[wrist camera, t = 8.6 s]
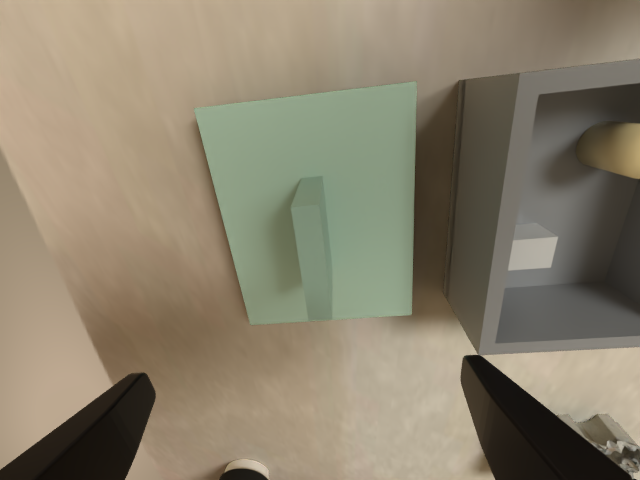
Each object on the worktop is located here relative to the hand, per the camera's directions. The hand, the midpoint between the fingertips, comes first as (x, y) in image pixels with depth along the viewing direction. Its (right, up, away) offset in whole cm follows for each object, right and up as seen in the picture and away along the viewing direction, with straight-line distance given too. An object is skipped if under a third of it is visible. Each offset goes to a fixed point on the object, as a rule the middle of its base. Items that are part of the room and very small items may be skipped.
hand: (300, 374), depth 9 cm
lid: (+1, +5, +12) cm, 13 cm away
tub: (+14, +7, +11) cm, 19 cm away
